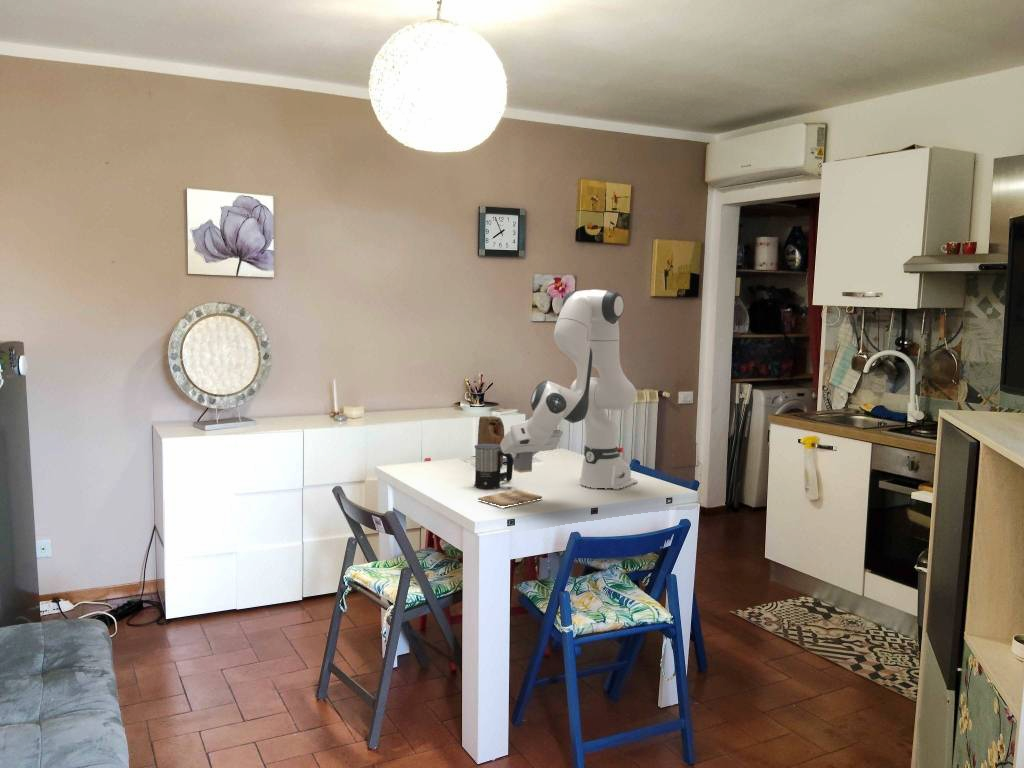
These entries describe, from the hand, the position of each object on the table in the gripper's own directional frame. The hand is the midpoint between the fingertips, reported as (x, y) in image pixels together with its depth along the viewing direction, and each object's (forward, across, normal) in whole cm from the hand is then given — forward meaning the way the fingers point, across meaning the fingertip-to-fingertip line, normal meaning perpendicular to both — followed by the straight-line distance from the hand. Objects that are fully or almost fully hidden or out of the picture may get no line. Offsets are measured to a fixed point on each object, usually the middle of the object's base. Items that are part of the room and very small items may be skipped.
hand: (522, 456), depth 275 cm
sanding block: (+3, 0, +4) cm, 5 cm away
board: (+9, +5, +11) cm, 15 cm away
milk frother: (+26, 0, -5) cm, 27 cm away
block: (+45, -14, -25) cm, 53 cm away
